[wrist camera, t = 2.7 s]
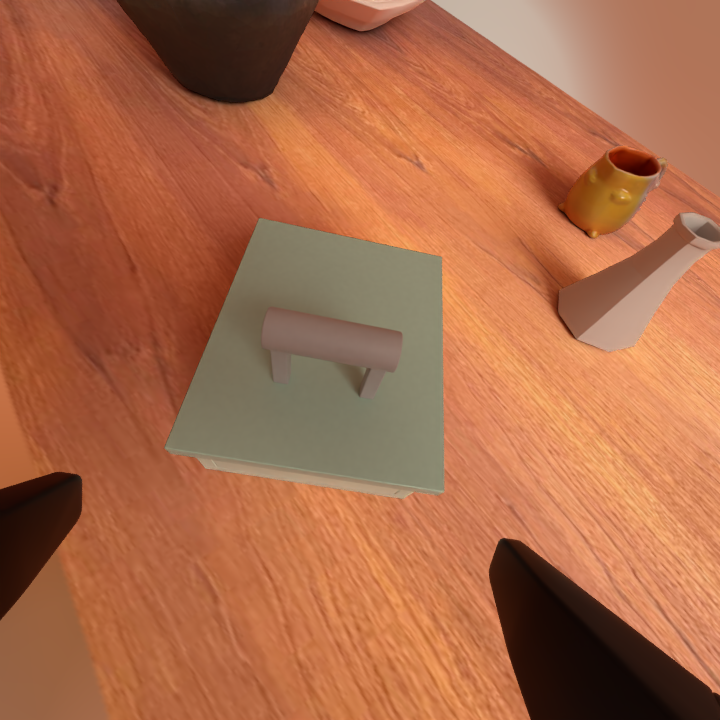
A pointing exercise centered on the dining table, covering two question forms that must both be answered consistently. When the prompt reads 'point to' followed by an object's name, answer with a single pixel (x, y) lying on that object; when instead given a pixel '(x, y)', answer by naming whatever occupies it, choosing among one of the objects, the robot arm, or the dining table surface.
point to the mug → (613, 190)
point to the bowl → (364, 11)
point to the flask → (635, 285)
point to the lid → (324, 363)
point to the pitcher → (223, 41)
